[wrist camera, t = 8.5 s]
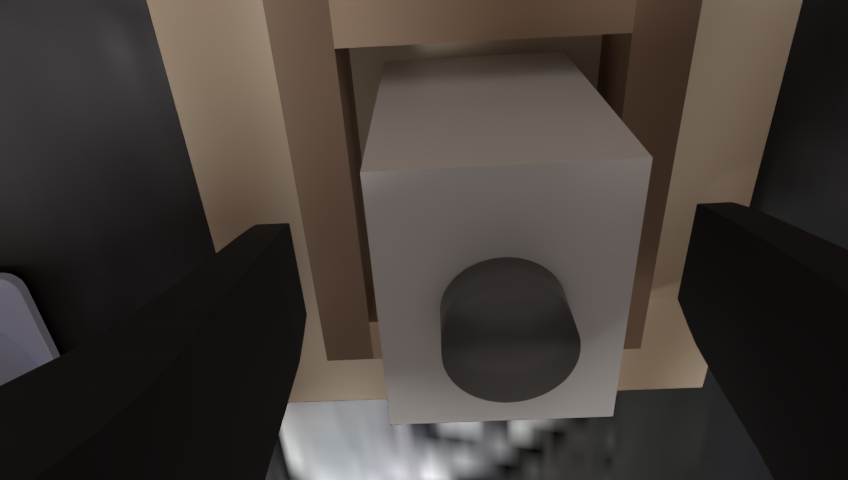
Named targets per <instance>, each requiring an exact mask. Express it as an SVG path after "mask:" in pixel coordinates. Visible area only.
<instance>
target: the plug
mask: <svg viewBox="0 0 848 480" xmlns="http://www.w3.org/2000/svg"><path fill="white" fill-rule="evenodd" d="M652 160H653V157H652V156H651V155H650V154H649V152H648V151H647V150H646V149H645V148H644V146H643V145H642V144H641V143H640V142H639V140H638V139H637V138H636V137H635V136H634V135H633V133H632V132H631V131H630V130H629V129H628V127H627V126H626V125H625V124H624V123H623V121H622V120H621V119H620V118H619V117H618V115H617V114H616V113H615V112H614V111H613V109H612V108H611V107H610V106H609V105H608V103H607V102H606V101H605V100H604V99H603V97H602V96H601V95H600V94H599V93H598V92H597V90H596V89H595V88H594V87H593V86H592V84H591V83H590V82H589V81H588V80H587V78H586V77H585V76H584V75H583V74H582V72H581V71H580V70H579V69H578V68H577V66H576V65H575V64H574V63H573V62H572V60H571V59H570V58H569V57H568V56H567V55H566V53H565V52H564V51H559V52H541V53H523V54H506V55H488V56H470V57H452V58H434V59H416V60H398V61H385V63H384V67H383V72H382V76H381V81H380V85H379V90H378V94H377V99H376V103H375V108H374V112H373V117H372V121H371V125H370V130H369V134H368V139H367V143H366V148H365V152H364V157H363V161H362V166H361V170H360V177H361V185H362V193H363V201H364V210H365V218H366V226H367V234H368V243H369V251H370V259H371V268H372V276H373V284H374V292H375V301H376V309H377V317H378V325H379V334H380V342H381V350H382V358H383V367H384V375H385V383H386V392H387V400H388V408H389V416H390V425H397V424H423V423H449V422H476V421H502V420H528V419H554V418H580V417H607V416H613V412H614V406H615V399H616V393H617V386H618V380H619V373H620V367H621V360H622V354H623V347H624V341H625V335H626V328H627V322H628V315H629V309H630V302H631V296H632V289H633V283H634V276H635V270H636V263H637V257H638V250H639V244H640V237H641V231H642V224H643V218H644V211H645V205H646V198H647V192H648V185H649V179H650V172H651V166H652Z"/></svg>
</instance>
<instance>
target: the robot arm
mask: <svg viewBox="0 0 848 480" xmlns="http://www.w3.org/2000/svg"><path fill="white" fill-rule="evenodd" d="M677 299H678V301H679V304H680V306H681V309H682V312H683V314H684V317H685V320H686V322H687V325H688V327H689V330H690V332H691V334H692V337H693V339H694V341H695V344H696V346H697V348H698V349H699V351H700V353H701V355H702V356H703V358H704V360H705V362H706V363H707V365H708V367H709V368H710V370H711V372H712V374H713V375H714V377H715V379H716V380H717V382H718V384H719V385H720V387H721V389H722V391H723V392H724V394H725V396H726V397H727V399H728V401H729V402H730V404H731V406H732V407H733V409H734V411H735V412H736V414H737V416H738V417H739V419H740V421H741V422H742V424H743V426H744V427H745V429H746V431H747V432H748V434H749V436H750V437H751V439H752V441H753V442H754V444H755V446H756V447H757V449H758V451H759V453H760V454H761V456H762V458H763V460H764V462H765V464H766V466H767V467H768V469H769V471H770V473H771V475H772V477H773V479H774V480H848V250H846V249H844V248H842V247H840V246H837V245H835V244H833V243H831V242H828V241H826V240H824V239H821V238H819V237H817V236H815V235H813V234H810V233H808V232H806V231H804V230H801V229H799V228H797V227H795V226H792V225H790V224H788V223H786V222H783V221H781V220H779V219H777V218H774V217H772V216H769V215H767V214H765V213H762V212H760V211H757V210H755V209H752V208H750V207H747V206H744V205H741V204H737V203H734V202H722V203H701V204H697V206H696V211H695V216H694V221H693V226H692V230H691V235H690V240H689V245H688V250H687V255H686V259H685V264H684V269H683V274H682V279H681V284H680V288H679V293H678V298H677ZM306 317H307V313H306V307H305V302H304V297H303V292H302V287H301V282H300V276H299V271H298V266H297V261H296V256H295V251H294V245H293V240H292V235H291V230H290V225H289V223H278V224H257V225H254V226H252V227H251V228H249V229H248V230H246V231H245V232H243V233H242V234H241V235H239V236H238V237H237V238H235V239H234V240H233V241H231V242H230V243H229V244H227V245H226V246H225V247H224V248H222V249H221V250H220V251H218V252H217V253H216V254H215V255H213V256H212V257H211V258H209V259H208V260H207V261H206V262H204V263H203V264H202V265H200V266H199V267H198V268H196V269H195V270H194V271H192V272H191V273H190V274H189V275H187V276H186V277H185V278H183V279H182V280H181V281H179V282H178V283H176V284H175V285H173V286H172V287H171V288H169V289H168V290H166V291H165V292H163V293H162V294H161V295H159V296H158V297H156V298H155V299H153V300H152V301H151V302H149V303H148V304H146V305H145V306H143V307H142V308H141V309H139V310H138V311H136V312H135V313H133V314H132V315H130V316H129V317H127V318H125V319H124V320H122V321H121V322H119V323H117V324H116V325H114V326H113V327H111V328H109V329H108V330H106V331H104V332H103V333H101V334H99V335H97V336H96V337H94V338H92V339H90V340H89V341H87V342H85V343H83V344H82V345H80V346H78V347H76V348H75V349H73V350H71V351H69V352H67V353H65V354H63V355H62V356H60V354H59V352H58V350H57V348H56V346H55V344H54V342H53V340H52V338H51V336H50V334H49V331H48V329H47V327H46V325H45V323H44V321H43V319H42V317H41V315H40V313H39V311H38V309H37V307H36V305H35V303H34V301H33V299H32V296H31V294H30V292H29V290H28V288H27V286H26V285H25V283H24V282H23V281H22V280H21V279H20V278H18V277H17V276H15V275H12V274H10V273H0V480H265V478H266V474H267V470H268V467H269V464H270V460H271V457H272V454H273V450H274V447H275V444H276V440H277V437H278V434H279V430H280V427H281V424H282V420H283V417H284V414H285V411H286V407H287V404H288V401H289V397H290V394H291V390H292V387H293V384H294V380H295V377H296V373H297V370H298V366H299V363H300V357H301V351H302V345H303V339H304V332H305V324H306Z"/></svg>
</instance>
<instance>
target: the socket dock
mask: <svg viewBox="0 0 848 480" xmlns="http://www.w3.org/2000/svg"><path fill="white" fill-rule="evenodd" d="M802 2H803V0H147V4H148V7H149V11H150V15H151V18H152V22H153V25H154V29H155V33H156V36H157V40H158V44H159V47H160V51H161V55H162V58H163V62H164V66H165V69H166V73H167V76H168V80H169V84H170V87H171V91H172V95H173V98H174V102H175V106H176V109H177V113H178V116H179V120H180V124H181V127H182V131H183V135H184V138H185V142H186V146H187V149H188V153H189V157H190V160H191V164H192V167H193V171H194V175H195V178H196V182H197V186H198V189H199V193H200V197H201V200H202V204H203V207H204V211H205V215H206V218H207V222H208V226H209V229H210V233H211V237H212V240H213V244H214V248H215V251H216V253H217V252H218V251H220V250H221V249H222V248H224V247H225V246H226V245H227V244H229V243H230V242H231V241H233V240H234V239H235V238H237V237H238V236H239V235H241V234H242V233H243V232H245V231H246V230H248V229H249V228H251V227H252V226H254V225H257V224H278V223H289V225H290V230H291V235H292V240H293V245H294V251H295V256H296V261H297V266H298V271H299V276H300V282H301V287H302V292H303V297H304V302H305V307H306V313H307V317H306V324H305V332H304V339H303V345H302V351H301V357H300V363H299V366H298V370H297V373H296V377H295V380H294V384H293V387H292V390H291V394H290V397H289V401H288V403H291V402H318V401H345V400H372V399H387V392H386V383H385V375H384V367H383V358H382V350H381V342H380V334H379V325H378V317H377V309H376V301H375V292H374V284H373V276H372V268H371V259H370V251H369V243H368V234H367V226H366V218H365V210H364V201H363V193H362V185H361V177H360V170H361V166H362V161H363V157H364V152H365V148H366V143H367V139H368V134H369V130H370V125H371V121H372V117H373V112H374V108H375V103H376V99H377V94H378V90H379V85H380V81H381V76H382V72H383V67H384V63H385V61H398V60H416V59H434V58H452V57H470V56H488V55H506V54H523V53H541V52H559V51H564V52H565V53H566V55H567V56H568V57H569V58H570V59H571V60H572V62H573V63H574V64H575V65H576V66H577V68H578V69H579V70H580V71H581V72H582V74H583V75H584V76H585V77H586V78H587V80H588V81H589V82H590V83H591V84H592V86H593V87H594V88H595V89H596V90H597V92H598V93H599V94H600V95H601V96H602V97H603V99H604V100H605V101H606V102H607V103H608V105H609V106H610V107H611V108H612V109H613V111H614V112H615V113H616V114H617V115H618V117H619V118H620V119H621V120H622V121H623V123H624V124H625V125H626V126H627V127H628V129H629V130H630V131H631V132H632V133H633V135H634V136H635V137H636V138H637V139H638V140H639V142H640V143H641V144H642V145H643V146H644V148H645V149H646V150H647V151H648V152H649V154H650V155H651V156H652V157H653V160H652V166H651V172H650V179H649V185H648V192H647V198H646V205H645V211H644V218H643V224H642V231H641V237H640V244H639V250H638V257H637V263H636V270H635V276H634V283H633V289H632V296H631V302H630V309H629V315H628V322H627V328H626V335H625V341H624V347H623V354H622V360H621V367H620V373H619V380H618V386H617V390H643V389H670V388H697V387H702V386H703V383H704V379H705V375H706V371H707V367H708V365H707V363H706V362H705V360H704V358H703V356H702V355H701V353H700V351H699V349H698V348H697V346H696V344H695V341H694V339H693V337H692V334H691V332H690V330H689V327H688V325H687V322H686V320H685V317H684V314H683V312H682V309H681V306H680V304H679V301H678V299H677V298H678V293H679V288H680V284H681V279H682V274H683V269H684V264H685V259H686V255H687V250H688V245H689V240H690V235H691V230H692V226H693V221H694V216H695V211H696V206H697V204H701V203H722V202H734V203H737V204H741V205H744V206H747V207H749V206H750V202H751V198H752V194H753V190H754V186H755V182H756V179H757V175H758V171H759V167H760V163H761V159H762V156H763V152H764V148H765V144H766V140H767V136H768V132H769V129H770V125H771V121H772V117H773V113H774V109H775V106H776V102H777V98H778V94H779V90H780V86H781V82H782V79H783V75H784V71H785V67H786V63H787V59H788V56H789V52H790V48H791V44H792V40H793V36H794V32H795V29H796V25H797V21H798V17H799V13H800V9H801V6H802Z"/></svg>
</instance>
